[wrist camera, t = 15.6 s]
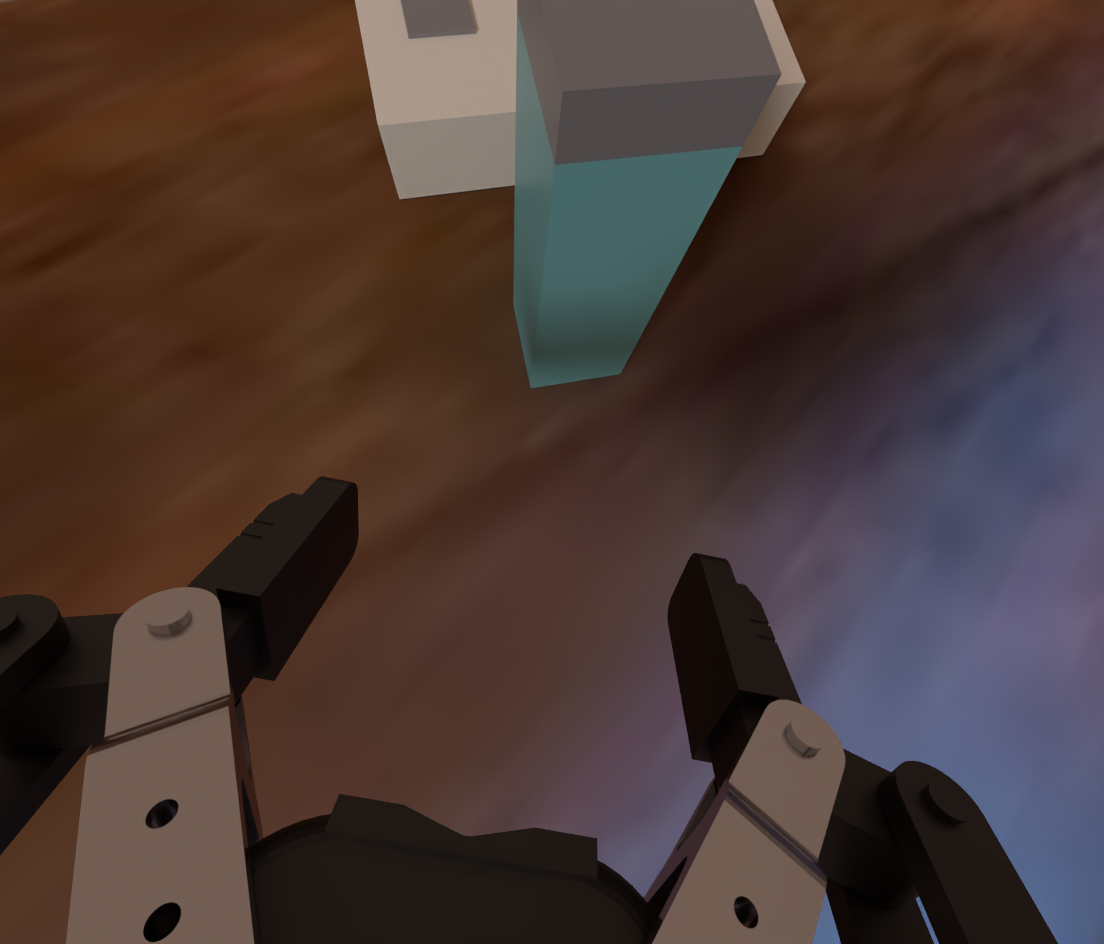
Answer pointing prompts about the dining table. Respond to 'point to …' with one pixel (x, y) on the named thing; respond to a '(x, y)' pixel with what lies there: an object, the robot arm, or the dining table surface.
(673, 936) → the robot arm
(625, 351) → the plug
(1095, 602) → the dining table surface
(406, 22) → the block
